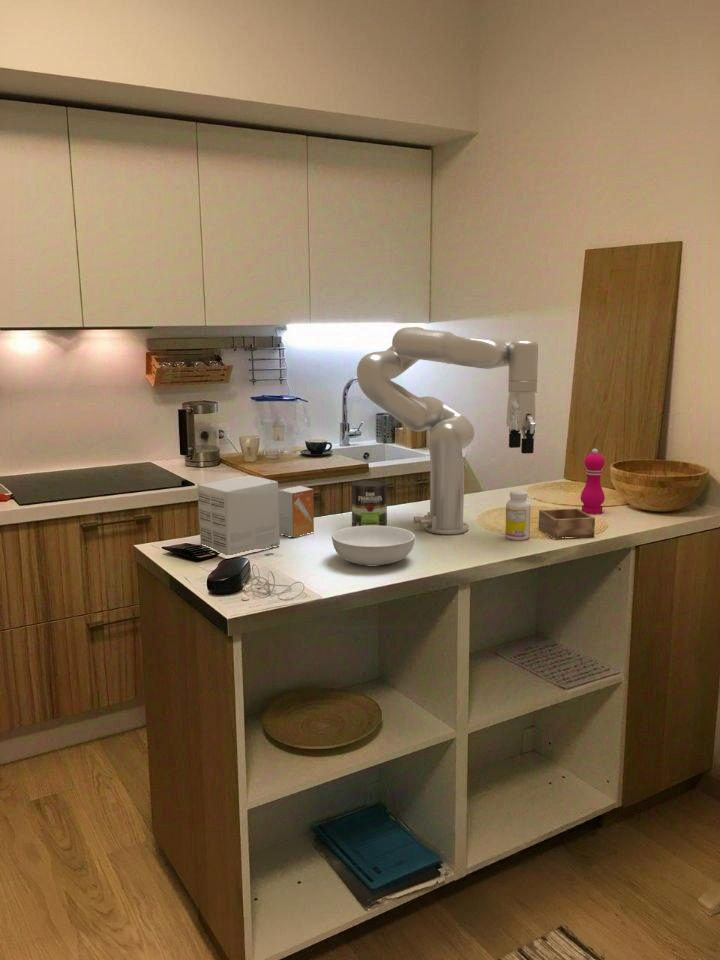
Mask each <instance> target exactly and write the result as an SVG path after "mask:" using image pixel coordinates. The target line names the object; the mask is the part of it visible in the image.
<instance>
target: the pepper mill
mask: <svg viewBox="0 0 720 960" xmlns="http://www.w3.org/2000/svg"><path fill="white" fill-rule="evenodd" d="M605 464H606V463H605V458H604V456H603V455H602V454H600V453H599V450H598V449H597V448H593V449H592V450H591V453H590V454H587V455H586V457H585V458H584V466H585V467H586V468H585V472H584V473H585V474H586V482H585V485H584V488H583V489H582V491H581V493H580V502H581V503H582V505H581V511H583V512H585V513H587V514H589V515H599V514H602V513H603V506H602V504H603V503H604V502H605V498H606V497H605V496H606V495H605V493H604V490H603V488H602V487H603V486H602V485H601V475H603V469H602V468H604V466H605Z"/></svg>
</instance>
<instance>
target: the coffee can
mask: <svg viewBox="0 0 720 960" xmlns="http://www.w3.org/2000/svg"><path fill="white" fill-rule="evenodd" d="M350 484H351V485H350V486H351V527H354V526H366V525H378V526H388V523H387V522H388V519H387V518H388V509H387V508H388V482H387V481H385V480H382V479H375V478H374V479H373V478H368V479H367V478H365V479H364V478H363V479H362V478H361V479H356V480H352V481H351V482H350Z"/></svg>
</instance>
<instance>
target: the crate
mask: <svg viewBox="0 0 720 960" xmlns="http://www.w3.org/2000/svg"><path fill="white" fill-rule="evenodd" d="M595 525H596V517H594V516H592V515H591V514H587V513H585V512H583V511H582V509H579V508H576V507H575V508H556V509H554V508H553V509H539V511H538V529H539V530H540V529H541V530H542V531H541V530H540V531H541V532H543V531H544V532H546V533H547V534H549V535H550V536H552V537H553V538H562V537H564V538H565V537H574V538H573V539H587V538H589V539H590V538H595ZM544 532H543V533H544ZM547 534H546V535H547ZM550 536H549V537H550ZM575 537H577V538H575ZM578 537H579V538H578ZM553 538H552V539H553Z"/></svg>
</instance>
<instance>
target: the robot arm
mask: <svg viewBox="0 0 720 960" xmlns="http://www.w3.org/2000/svg"><path fill="white" fill-rule="evenodd" d="M421 360H422V361H430V362H436V363H443V364H448V365H456V366H463V367H467V368H476V369H484V370H488V369H489V370H491V369H496V368H502V367H507V366H508V381H507V382H508V386H507V387H508V388H507V389H508V390H507V391H508V392H507V393H508V398H507V406H506V408H507V409H506V420H505V421H506V422H505V423H506V427H508V428H509V429H508V448H509V449H512V448H513V449H516V448H518V449H519V448H521V449H520V450H521V451H520V452H521V453H522V454H525V455H527V454H533V453H534V447H535V445H534V444H535V433H536V430H535V429H536V425H537V424H536V397H535V395H536V393H537V392H538V367H539V361H538V360H539V344H538V342H537V341H536V340H532V339H516V340H515V339H514V340H509V339H502V338H497V339H496V338H495V339H492V338H491V339H482V338H481V339H479V338H472V337H471V338H470V337H465V336H459V335H455V334H454V333H453V332H450V331H444V330H443V331H442V330H434V329H433V330H432V329H426V328H423V327H420V326H419V327H417V326H410V327H409V326H408V327H407V326H406V327H402V328H400V329H398V330H397V331H395V333H394V335H393V337H392V341H391V346H390V347H389V348H387V349H386V350H382V351H372V352H370V353H367V354H366V355H364V356H363V357H362V358H361V359H360V360H359V362H358V365H357V366H356V367H357V368H356V378H357V383H358V386H359V388H360V390H361V391H362V393H363V394H364V395H365V396H366V398H367V399H369V400H370V401H371V402H372V403H373V404H376V406H377V407H379V408H381V409H382V410H383V411H385V412H386V413H388V414H389V416H392V417H393V418H394V419H396V420H397V421H398V422H400V423H401V424H402V425H404V426H405V427H406V428H408V429H410V431H413V432H417V433H418V432H419V433H420V432H424V431H429V435H428V438H427V439H428V441H427V443H428V450H429V451H428V452H429V461H430V466H429V467H430V473H429V474H430V475H429V476H430V480H429V481H430V483H429V484H430V486H429V488H430V489H429V490H430V492H429V495H430V497H429V500H430V501H429V502H430V503H429V504H430V505H429V511H427V514H424V516H413V523H414V524H419V525H424V530H426V531H427V532H429V533H432V534H437V535H458V534H463V533H466V532H467V531H469V524H468V523H467V522H464V507H465V506H464V498H465V497H464V496H465V495H464V494H465V493H464V492H465V463H464V462H465V461H464V456H463V449H465V448H467V447H468V446H470V444H471V443H473V440H474V438H475V429H474V426H473V424H472V422H470V420H469V419H467V418H466V417H465V416H464V415H462V414H461V413H459V412H458V411H457V410H455V409H454V408H452V407H451V406H449V405H448V404H446V403H445V402H444V401H442V400H440V399H438V398H437V397H434V396H430V395H429V396H421V397H420V396H419V397H418V396H417V395H416V394H413V393H412V392H410V391H409V390H407V389H406V388H405V387H404V386H401V385H400V384H399V383H397V382H395V381H393V379H396V378H397V377H399V376H401V375H402V374H403V373H405V372H406V371H407V370H409V368H410V367H412V366H414V365H415V364H416V363H417V362H418V361H421ZM521 436H522V437H521Z"/></svg>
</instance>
